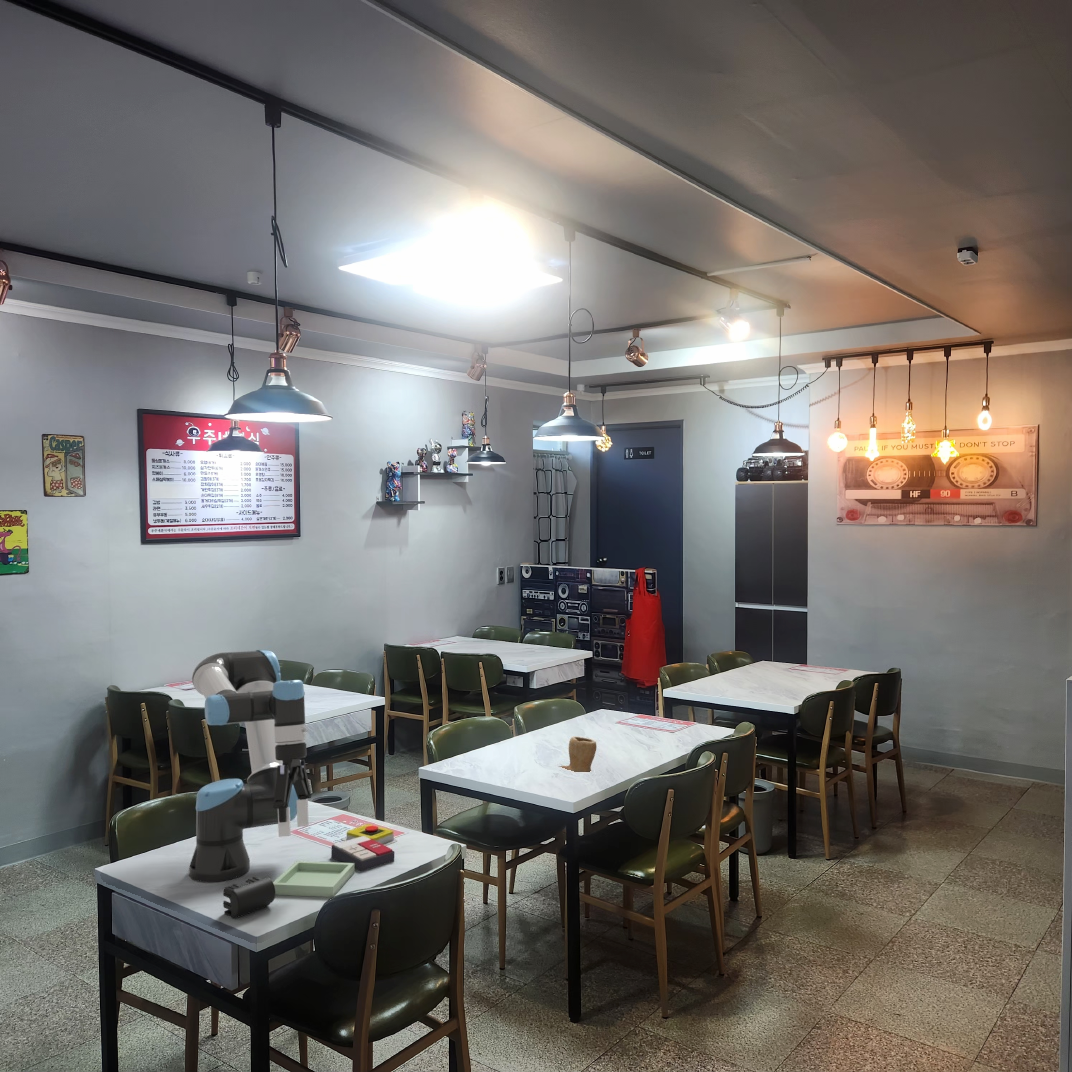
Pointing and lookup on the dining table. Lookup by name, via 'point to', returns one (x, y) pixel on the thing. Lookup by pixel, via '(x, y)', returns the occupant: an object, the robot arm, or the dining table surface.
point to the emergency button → (372, 834)
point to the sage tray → (313, 878)
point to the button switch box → (362, 853)
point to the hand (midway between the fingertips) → (294, 831)
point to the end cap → (248, 896)
